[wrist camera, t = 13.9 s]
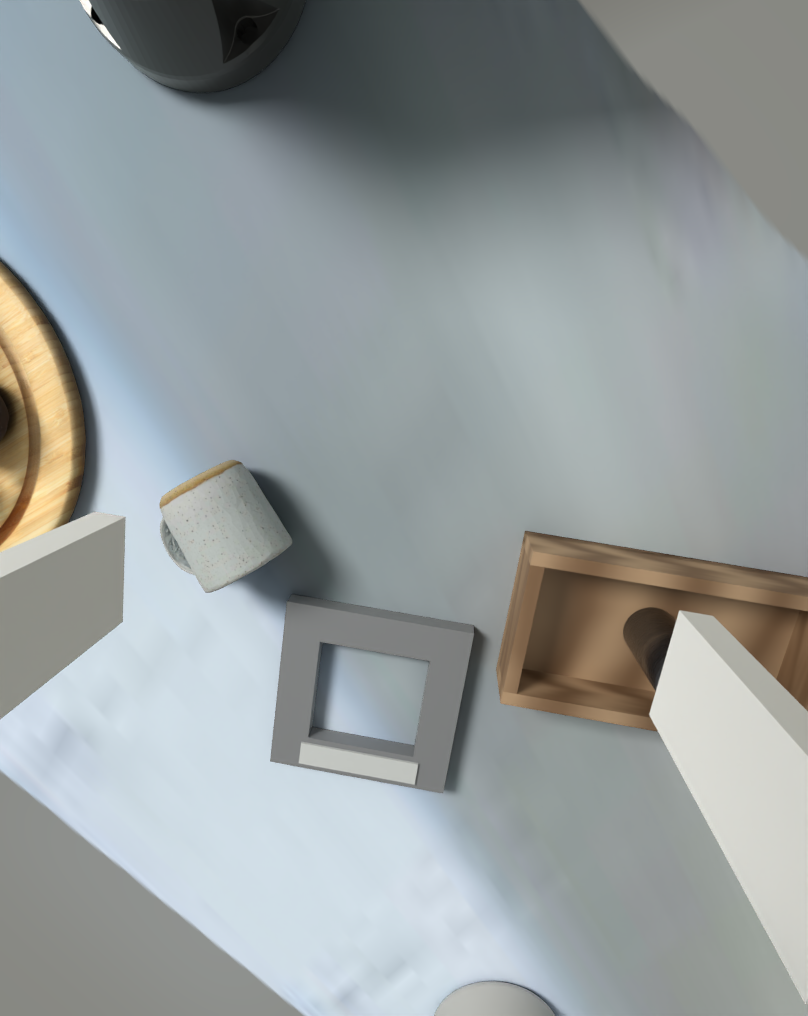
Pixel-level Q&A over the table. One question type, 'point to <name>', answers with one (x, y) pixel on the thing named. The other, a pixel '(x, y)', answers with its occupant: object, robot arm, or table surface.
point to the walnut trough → (606, 607)
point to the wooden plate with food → (35, 421)
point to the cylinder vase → (493, 1001)
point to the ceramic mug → (221, 526)
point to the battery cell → (649, 639)
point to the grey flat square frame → (378, 633)
